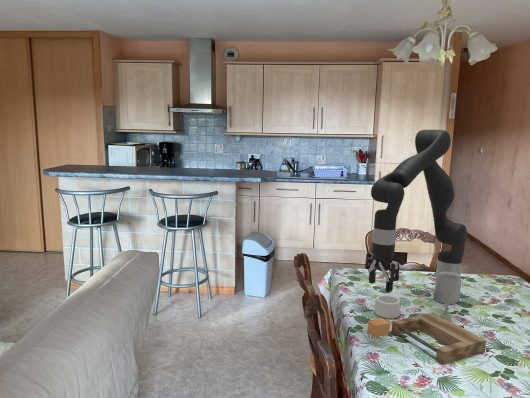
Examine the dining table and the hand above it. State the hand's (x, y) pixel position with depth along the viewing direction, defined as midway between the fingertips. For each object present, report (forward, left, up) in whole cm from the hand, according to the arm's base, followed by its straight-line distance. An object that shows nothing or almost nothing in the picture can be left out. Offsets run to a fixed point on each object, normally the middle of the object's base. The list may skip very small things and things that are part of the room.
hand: (380, 287), depth 141 cm
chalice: (-30, +3, -17) cm, 35 cm away
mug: (-15, -11, -17) cm, 26 cm away
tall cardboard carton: (0, +1, -17) cm, 17 cm away
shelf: (-15, +13, -17) cm, 26 cm away
